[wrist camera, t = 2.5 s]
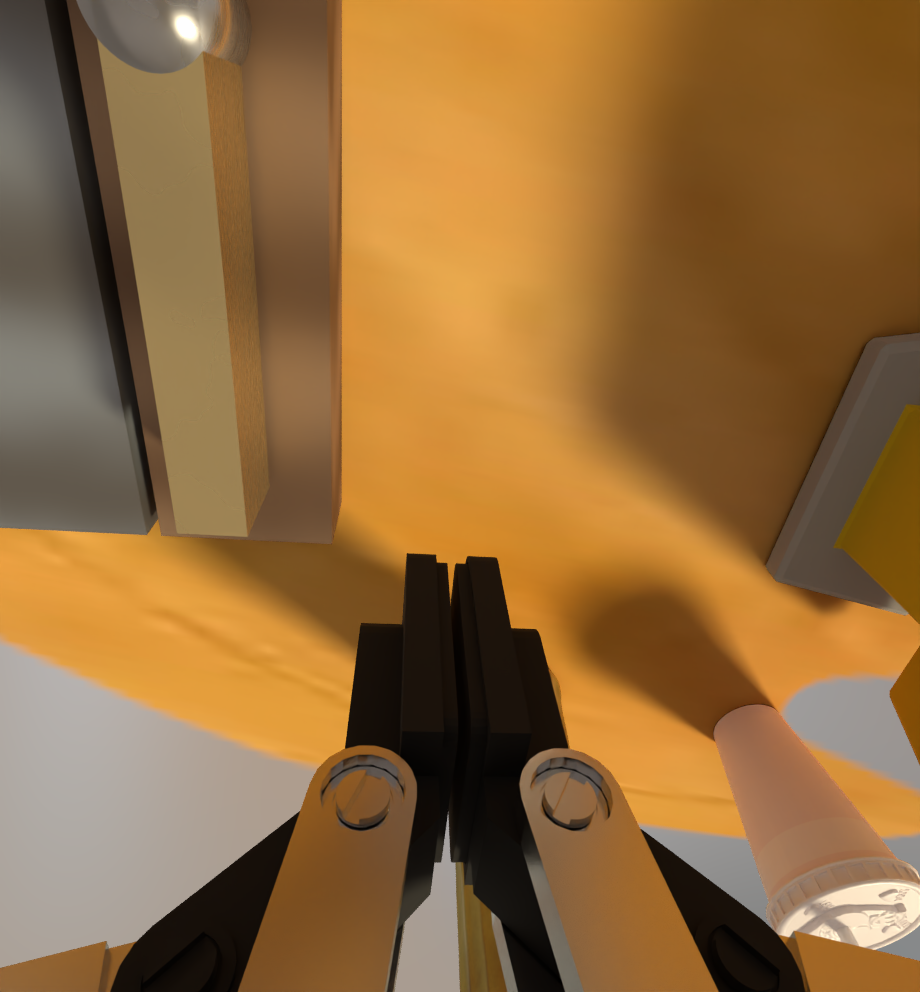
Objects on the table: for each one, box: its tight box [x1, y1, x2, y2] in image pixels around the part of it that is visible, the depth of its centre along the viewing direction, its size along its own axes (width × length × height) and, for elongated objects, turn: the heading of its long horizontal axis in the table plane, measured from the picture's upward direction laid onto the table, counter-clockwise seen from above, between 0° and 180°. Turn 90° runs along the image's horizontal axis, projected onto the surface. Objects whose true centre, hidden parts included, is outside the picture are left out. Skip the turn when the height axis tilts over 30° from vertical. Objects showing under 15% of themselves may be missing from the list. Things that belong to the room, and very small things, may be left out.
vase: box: [456, 670, 570, 992], centre depth 25 cm, size 6×6×14 cm
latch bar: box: [76, 0, 270, 537], centre depth 16 cm, size 14×3×3 cm, turn 174°
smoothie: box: [713, 704, 920, 950], centre depth 27 cm, size 6×6×14 cm
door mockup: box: [0, 0, 342, 544], centre depth 18 cm, size 19×17×3 cm
